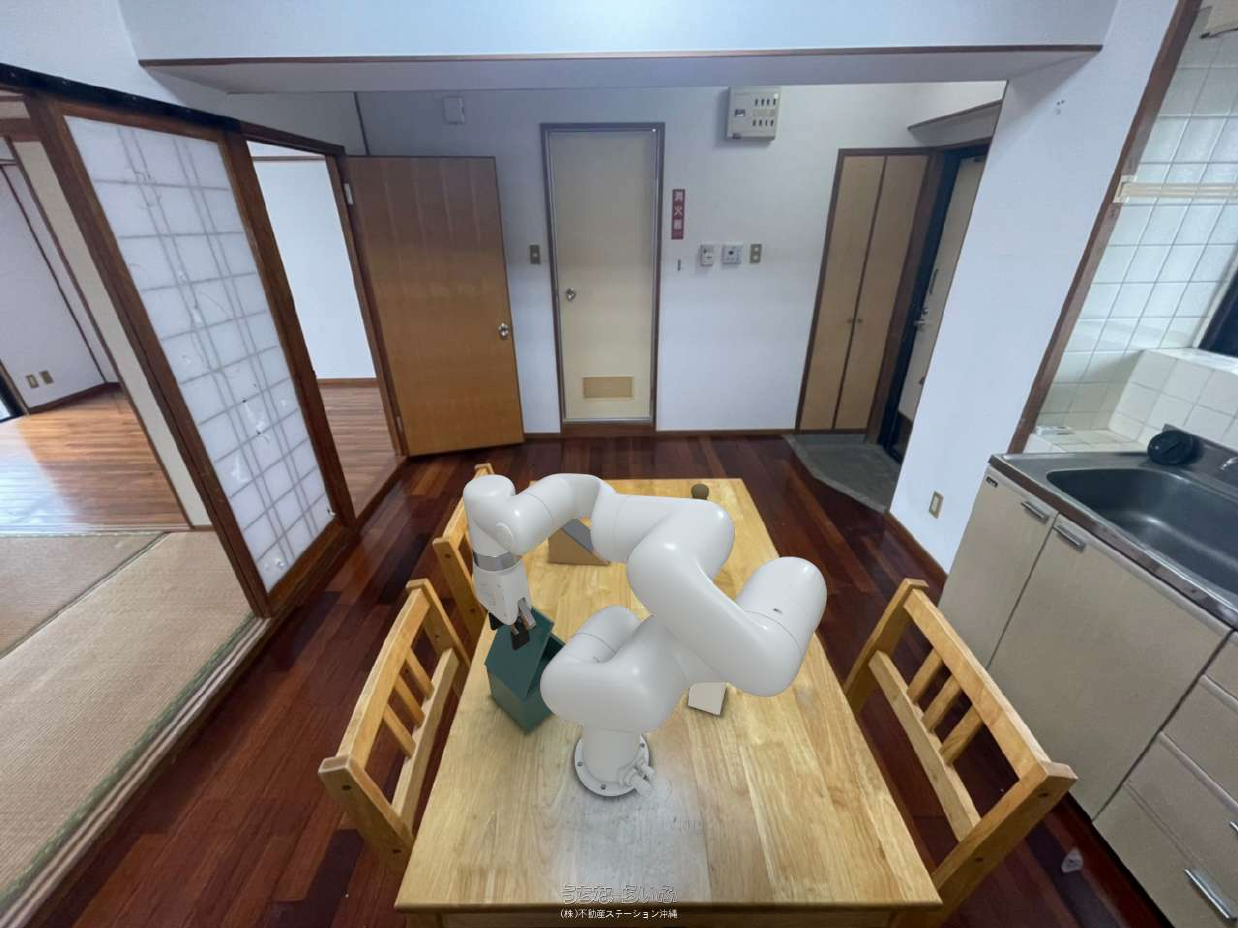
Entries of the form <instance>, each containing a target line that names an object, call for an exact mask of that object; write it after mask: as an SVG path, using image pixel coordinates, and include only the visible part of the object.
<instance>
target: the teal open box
mask: <svg viewBox="0 0 1238 928" xmlns="http://www.w3.org/2000/svg"><path fill="white" fill-rule="evenodd" d="M566 643H567V642H564V641H563V639H561V638H559V637H558V636H557V635H556V634H554V633H553V632H552V631H551V633H550V636H549V639H548V641H547V644H546V646H545V649H544V651H543V654H542V656H541V659H540V661H539V664H538V666H537V669H536V671H535V674H534V676H533V679H532V682H531V684H530V687H529V689H528V692H527V694H526V697H525V699H524V700H520V699H519V698H518V697H517V696H516V695H515V694H514V693H513V692H512V691H511V690H510V689H509V688H508V687H507V686H506V685H505V684H504V683H503V682H502V681H501V680H500V679H499V678H498V677H497V676H496V675H494V674H493V673H492V672H491V671H490V670H489V669H488V668H487V667H486V666H485V669H486V673H487V679H488V684H489V689H490V695H491V698H492V699H494V700H495V702H497V704H498V705H499V706H501V708H502V709H504V711H505V712H506V713H508V714H509V715H510V717H511V718H512V719H513V720H514V721H515V722H516V723H517V724H518V725H519V726H520V727H521V728H522V729H523V731H525V732H526V733H529V732H530V731H531V730H533V729H534V728H535V727H536V726H537V725H539V724H540V723H541V722H542V721H543V720H544V719H546V718H547V717H548V716H549V715H550V714H552V713H553V712H552V711H551V710H550V709H549V708H548V707H547V705H546V704H545V702H544V700H543V698H542V695H541V691H540V681H541V676H542V674H543V671H544V670H545V668H546V666H547V665H548V664H549V663H550V661H551V660H552V659H553V658H554V657H555V656H556V654H557V653H558V652H559V651H560V650H561V649H562V648H563V647H564V646H565V644H566Z"/></svg>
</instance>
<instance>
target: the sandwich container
mask: <svg viewBox="0 0 1238 928" xmlns="http://www.w3.org/2000/svg"><path fill="white" fill-rule="evenodd" d="M547 544H548V553H549V562H550V563H554V564H555V563H558V564H572V565H595V566H596V565H597V566H608V565H609V564H608V563H609V561H607V560H604V559H603V558H602V557H600V556H599V555H598V554H597V552H596V551H595V549H594V547H593V544H592V541H591V535H590V527H588V526H587V525H586V524H584V523H583V521H581V519H571V520H570V521H568V522H567V523H566V524H564V525H563V526H562V527H561V528H559V529H558V530H557V531H556V532H554V533H553V534H552V535H551V536H550V537H548V538H547Z"/></svg>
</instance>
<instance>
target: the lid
mask: <svg viewBox="0 0 1238 928" xmlns="http://www.w3.org/2000/svg"><path fill="white" fill-rule="evenodd" d="M530 612H531V614H532V616H533V618H534V620H535V622H536V625H535V626H534V627H532V628H531V629H528V630H529V638H530V640H529V642H528V643H526V644H525V645H524V646H522V647H520V648H519V649H517V650H516V651H514V650H513V649H512V642H511V636H510V632H511V631H512V629H511V626H510V625H507V624H504V625H503V626H501V627H500V628H498V629H496V632H495V635H494V638H493V639H492V643H491V645H490V647H489V650H488V652H487V655H486V657H485V660H484V662H483V665H484V666H485V668H486V667H487V668H488V669H489V670H490V671H491V672H492V673H493V674H494V675H496V676H497V677H498V678H499V679H500V680H501V681H502V682H503V683H504V684H505V685H506V686H507V687H508V688H509V689H510V690H511V691H512V692H513V693H514V694H515V695H516V696H517V697H518V698H519V699H520V700H524V699H525V697H526V694H527V692H528V689H529V687H530V684H531V682H532V679H533V676H534V674H535V671H536V669H537V666H538V664H539V661H540V659H541V656H542V654H543V651H544V649H545V646H546V644H547V641H548V639H549V636H550V633H551V632H552V631H553V628H554V626H555V622H554V621H553V620H552V619H551V618H549V616H546V615H545V614H544V613H543V612H541V611H540V610H539V609H537V607H535V606H534V605H533V604H531V611H530ZM515 622H516V625H518V624H520V623H521V622H522V619H521V617H519V618H517V619H516V621H515Z"/></svg>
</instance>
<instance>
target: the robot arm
mask: <svg viewBox="0 0 1238 928" xmlns="http://www.w3.org/2000/svg"><path fill="white" fill-rule="evenodd" d="M615 489H616V488H614V487H613V486H612V485H610V484H609V483H607V482H606V481H605V480H603V479H602V478H599V477H598V476H596V475H592V474H585V473H555V474H550V475H547V476H545V477H542V478H541V479H539V480H538V481H536V482H534V483H533V484H531V485H529V486H528V487H527V488H525V489H524V490H523V491H521V492H519V493H518V494H516V488H515V485H514V483H513V482H512V480H510V479H509V478H508V477H506V476H504V475H500V474H483V475H480V476H477V477H475V478H473V479H471V480H470V481H469V482H467V484H466V485H465V487H464V488H463V491H462V501H463V505H464V512H465V518H466V523H467V528H468V534H469V535H468V536H469V541H470V547H471V551H472V576H473V584H474V585H473V586H474V592H475V597H476V599H477V601H478V602H479V603H480V605H482V606H483V607H484V608H485V609H486V611H487V615H488V621H489V627H490V630H491V631H493V632H494V631H497V629H498V628H500V627H501V626H503V625H504V624H507V625H510V626H511V629H512V631H511V632H510V636H511V642H512V649H513V650H514V651H516V650H517V649H519V648H520V647H522V646H524V645H525V644H526V643H528V642H529V640H530V638H529V630H528V629H531V628H532V627H534V626H535V625H536V622H535V620H534V618H533V616H532V614H531V612H530V611H531V605H532V597H531V591H530V585H529V580H528V577H527V571H526V569H525V568H526V567H525V564H524V562H523V558H524V555H527V554H529V553H531V552H533V551H534V550H535V549H537V548H538V547H539V546H540V545H541V544H542V543H544V542H545V541H546V540H548V537H550V536H551V535H552V534H553V533H554V532H556V531H557V530H558V529H559V528H561V527H562V526H563V525H564V524H566V523H567V522H568V521H570V520H571V519H579V520H587V521H589V520H590V522H589V523H590V525H589V529H590V535H591V541H592V544H593V547H594V549H595V551H596V552H597V554H598V555H599V556H600V557H602V558H603V559H604V560H607V561H608V562H610V563H618V564H626V565H625V576H626V580H627V584H628V586H629V588H630V589H631V591H632V593H633V595H634V596H635V598H636V599H637V600H638V602H640V604H641V605H642V606H643V607H644V608H645V610H646V611H647V612H649V614H651V615H649V616H646V617H645V619H643V620H641V619H640V617H639V616H638V615H637V614H636V613H635V612H634V611H632V610H631V609H630V608H627V607H626V606H623V605H617V604H613V605H607V606H604V607H602V608H600V609H599V610H597V611H596V612H594V613H593V614H592V615H591V616H589V618H588V619H586V621H584V622H583V624H582V625H581V626H580V627H579V628H578V629H577V630H576V631H575V632H574V633H573V634H572V636H571V637H570V639H568V641H567V642H565V643H566V644H565V646H564V647H563V648H562V649H561V650H560V651H559V652H558V653H557V654H556V656H555V657H554V658H553V659H552V660H551V661H550V663H549V664H548V665H547V666H546V668H545V670H544V671H543V674H542V676H541V681H540V691H541V695H542V698H543V700H544V702H545V704H546V705H547V707H548V708H549V709H550V710H551V711H552V712H551V713H553V714H554V715H555V716H557V717H559V718H560V719H562V720H564V721H565V722H568V723H571V724H573V725H576V726H581V737H580V738H579V740H578V741H577V744H576V747H575V749H574V768H575V771H576V775H577V777H578V779H579V780H580V781H581V783H582V784H583V785H584V786H585V787H586V788H587V789H588V790H590V791H591V792H593V793H595V794H597V795H600V796H605V797H617V796H621V795H625V794H627V793H629V792H631V791H633V790H634V789H635V790H636V791H637V792H638V793H639V794H640V795H641V796H642V797H643V798H644V799H647V798H648V797H649V796H650V795H651V793H652V791H653V786H652V784H650V783H649V782H648V781H647V780H646V779H645V776H646V777H647V778H648V779H649V780H653V779H654V778H655V776H656V773H657V771H656V770H655V769H653V767H651V766H649V761H650V753H649V747H648V744H647V742H646V740H645V738H644V737H643V735H645V734H649V733H652V732H654V731H657V730H659V729H660V728H662V727H663V726H664V725H665V724H666V723H667V722H668V721H669V719H670V718H671V716H672V715H673V714H674V711H676V708H677V707H678V705H679V704H680V702H681V700H682V698H683V696H684V695H685V693H686V692H687V691H688V690H689V688H690V687H691V686H692V685H694V684H697V683H714V682H726V683H728V684H730V685H731V686H732V687H734V688H735V689H737V690H739V691H741V692H742V693H744V694H745V693H746V694H747V695H751V696H754V697H758V698H771V697H775V696H778V695H780V694H782V693H784V692H785V691H786V690H787V689H789V688H790V687H791V685H793V683H794V682H795V680H796V679H797V676H798V674H799V672H800V670H801V667H802V665H803V662H804V660H805V657H806V654H807V651H808V649H809V646H810V643H811V641H812V638H813V636H814V633H815V632H816V630H817V628H818V627H819V625H820V623H821V621H822V618H823V615H824V613H825V609H826V605H827V599H828V591H827V586H826V581H825V578H824V576H823V574H822V572H821V571H820V570H819V568H818V567H817V566H816V565H815V564H814V563H812V562H811V561H809V560H807V559H805V558H801V557H797V556H782V557H778V558H774V559H771V560H769V561H766V562H765V563H763V564H761V565H760V566H758V567H757V568H756V569H755V570H754V571H753V572H752V573H751V574H749V576H748V578H747V579H746V580H745V582H744V583H743V585H742V587H741V589H740V591H739V592H738V593H737V594H736V596H735V598H734V600H733V599H731V598H730V597H729V596H728V595H727V594H726V593H725V592H724V591H722V589H720V588H719V587H718V585H716V584H715V583H714V581H715V580H716V579H717V577H718V575H719V574H720V572H721V571H722V569H723V567H724V566H725V565H726V563H727V562H728V560H729V558H730V556H731V554H732V551H733V549H734V545H735V541H736V540H735V539H736V529H735V528H736V527H735V524H734V520H733V518H732V516H731V515H730V513H729V512H728V511H727V510H726V509H725V508H724V507H723V506H721V505H720V504H718V503H716V502H713V501H712V500H711V501H710V500H708V499H707V500H701V499H692V498H689V497H687V498H686V497H672V496H658V495H657V496H656V495H643V494H642V495H641V494H625V493H618V492H617V490H615ZM519 617H521V619H522V622H521V623H520V624H518V625H516V622H515V621H516V619H517V618H519Z"/></svg>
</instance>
